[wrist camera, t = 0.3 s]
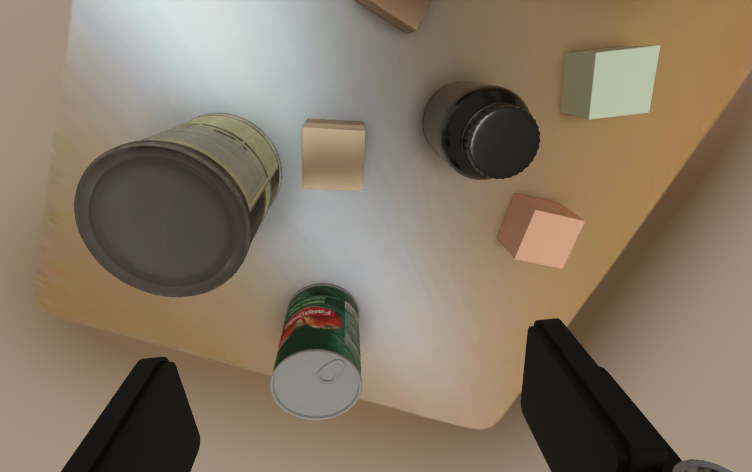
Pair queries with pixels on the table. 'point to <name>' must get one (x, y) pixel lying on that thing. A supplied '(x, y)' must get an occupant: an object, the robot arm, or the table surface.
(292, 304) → the canned tomato
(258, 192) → the coffee can
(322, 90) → the table surface
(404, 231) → the table surface
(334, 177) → the maple cube
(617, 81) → the sage painted cube
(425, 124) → the supplement bottle
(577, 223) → the terracotta painted cube
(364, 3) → the walnut cube
